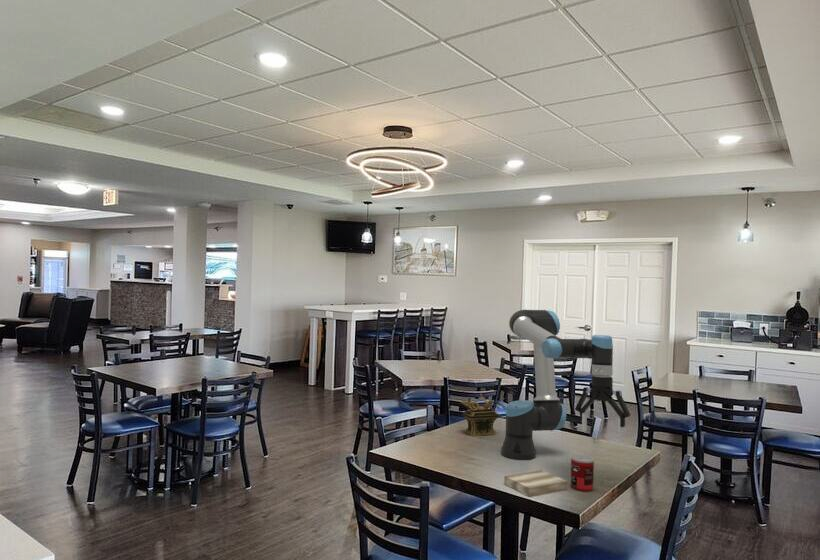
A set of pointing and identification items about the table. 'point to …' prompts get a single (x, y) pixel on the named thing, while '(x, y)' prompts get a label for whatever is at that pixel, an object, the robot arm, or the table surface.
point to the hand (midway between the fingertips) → (601, 433)
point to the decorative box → (480, 418)
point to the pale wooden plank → (535, 483)
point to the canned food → (582, 473)
